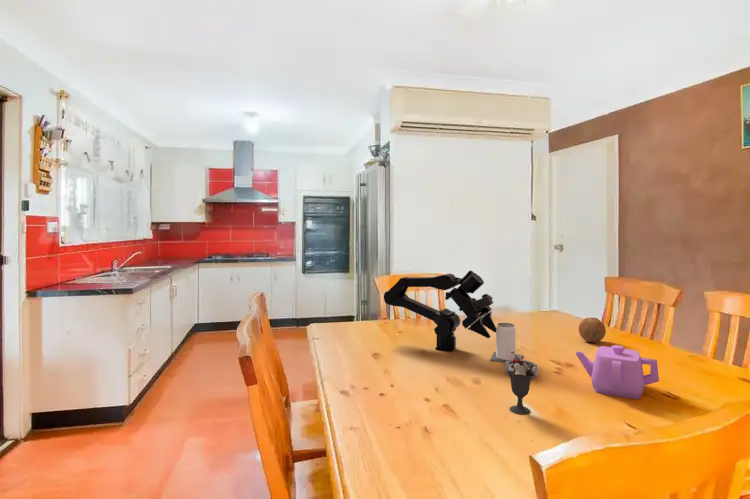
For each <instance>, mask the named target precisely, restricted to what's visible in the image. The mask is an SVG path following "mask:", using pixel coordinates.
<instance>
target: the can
mask: <svg viewBox="0 0 750 499" xmlns="http://www.w3.org/2000/svg"><path fill="white" fill-rule="evenodd" d="M495 352H496V357H497V358H498V359H500V360H505V361H508V360H513V359H515V356H514V355H515V354H516V328H515V324H514V323H511V322H498V323H497V326H496V333H495ZM511 352H514V353H515V354H514V353H513V354H512V353H511Z"/></svg>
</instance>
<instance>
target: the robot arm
mask: <svg viewBox="0 0 750 499" xmlns="http://www.w3.org/2000/svg"><path fill="white" fill-rule="evenodd" d="M484 284H485V282H484V279H483V278H482V277H481V276H480V275H479V274H477V273H475V272H474V271H472V270H469V271H468V272H467V273H466V274H465V275H464V276H463V277H462V278H461V277H457V276H456V275H455V274H453V273H446V274H441V275H437V276H411V277H408V276H404V277H400V278H399V279H398V281H397V282H396V283H395V284H394V285H393V286H392V287H391V288H389V290H387V291H385V292H384V294H383V300H384V303H385V304H386V305H389V306H392V307H398V308H403V309H406V310H409V311H411V312H413V313H415V314H417V315H419V316H422V317H424V318H425V319H428V320H431V321H432V322H434V323H435V325H436V326H435V327H434V329H433V330H434V334H435V335H436V347H435V350H438V351H446V352H453V350H455V348H456V347H457V346H456V344H457V341H456V340H457V337H456V336H455V332H456V330H457V328H458V327H459V326H460V324H462V326H463V327H464V329H465V330H466V329H467V330H468V331H472V332H474V333H476V334H478V335H480V336H483V337H484V338H486V339H490V338H491V334H490V333H489V331H488V330H487V329H486V328H488V329H489V330H490V331H492V332H494V333H495V334H496V328H497V326H496V325H495V323H494V320H493V319H492V314H493V311H492V310H493V308H492V307H491V306H492V305H493V304H494V301H493V297H492V296H491V295H490V294H488V293H485V294H482V295H481V298H479V299H477V298H475V297H471V296H470V294H474V293H475V292H476V291H477V290H478V289H480V288H481V287H482V286H483V285H484ZM457 286H458V287H457ZM409 288H432V289H433V288H434V289H436V290H441V291H445V296H444V297H445V298H444V299H445V300H446V301H447V300H450V299H451V300H453V302H454V303H455V304H456V305H457V307H458V310H459V312H463V314H464V315H465V316H466V317H465V318H464V319H463V320H462V321H461V318H460V316H459V315H458V314H457V313H456V311H453V310H450V309H449V308H444V309H442V310H438V309H435V308H434V307H431V306H429V305H427V304H424V303H422V302H420V301H417V300H415V299H413V298H410V297H409V296H408V295H407V291H408V289H409ZM448 290H450V291H448Z"/></svg>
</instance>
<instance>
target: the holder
mask: <svg viewBox="0 0 750 499" xmlns="http://www.w3.org/2000/svg"><path fill="white" fill-rule="evenodd" d="M513 360H514V359H513ZM515 360H517V359H515ZM521 361H523V362H525V363H526V364H527V365H528V369H530V368H531V367H532V366H533V368H532V371H534V376H532V377H531V380H533V379H535V378H537V377H538V364H537V363H535V362H534V361H530V360H527V359H522V360H521ZM511 364H513V362H512V360H508V361H506V362H504V373H505V374H506V375H507V376H508V377H510V375H509V374H508V372H507V370H508V369H509V367H510V365H511Z"/></svg>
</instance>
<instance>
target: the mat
mask: <svg viewBox="0 0 750 499" xmlns="http://www.w3.org/2000/svg"><path fill="white" fill-rule="evenodd" d="M515 354H516V355H515V359H517V357H518V359H520V360H523V356H524V355H523V354H517V353H515ZM516 356H517V357H516ZM489 360H490V361H491V362H498V363H499V362H500V363H505V362H506V361H505V360H500V359H498V358H497V357H496V351H493V354H492V355H491V357H490V359H489Z"/></svg>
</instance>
